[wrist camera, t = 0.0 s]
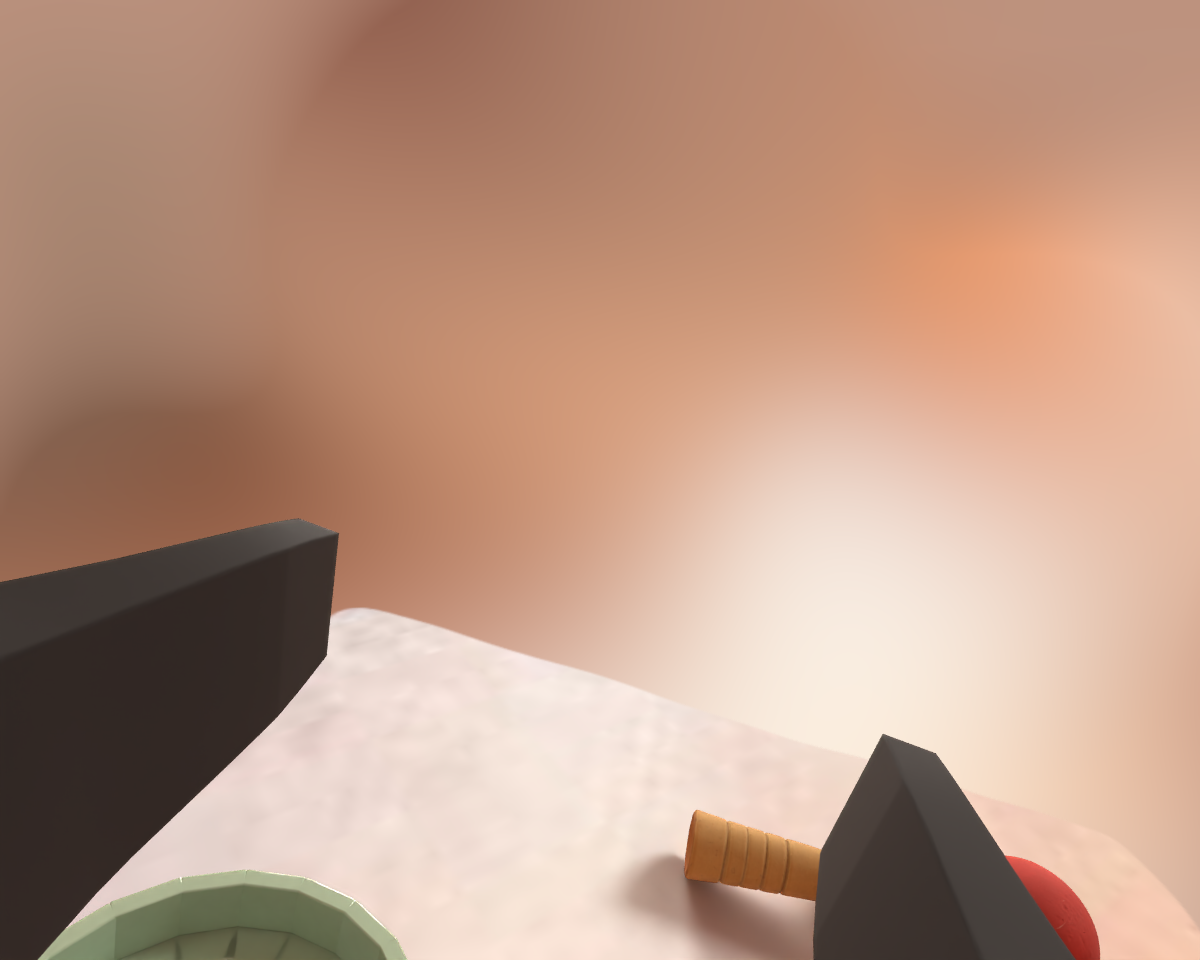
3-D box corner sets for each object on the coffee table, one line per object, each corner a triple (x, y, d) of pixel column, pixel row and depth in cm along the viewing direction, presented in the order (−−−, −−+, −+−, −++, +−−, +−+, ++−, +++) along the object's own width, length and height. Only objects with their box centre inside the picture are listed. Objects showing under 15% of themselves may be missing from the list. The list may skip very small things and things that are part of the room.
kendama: (673, 977, 30) (1124, 1090, 28) (697, 841, 30) (1164, 947, 27) (679, 861, 38) (1035, 943, 36) (698, 751, 37) (1064, 828, 35)
